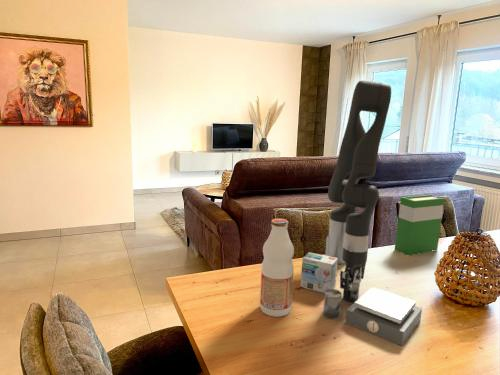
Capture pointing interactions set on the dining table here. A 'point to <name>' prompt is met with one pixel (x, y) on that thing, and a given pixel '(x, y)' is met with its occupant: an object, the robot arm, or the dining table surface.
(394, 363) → the dining table surface
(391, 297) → the platform
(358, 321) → the scale
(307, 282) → the light bulb box
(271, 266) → the fruit juice
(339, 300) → the cylinder
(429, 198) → the green cereal box
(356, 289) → the cylinder
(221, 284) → the dining table surface
